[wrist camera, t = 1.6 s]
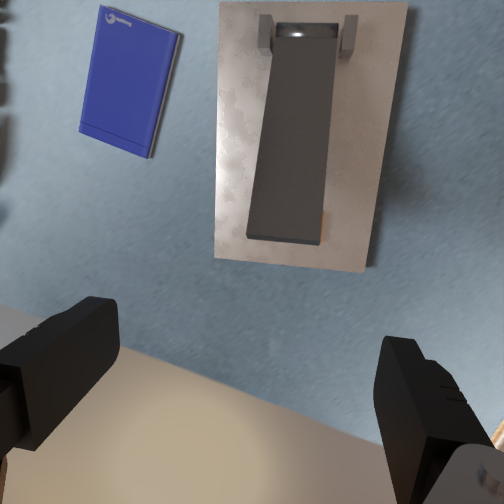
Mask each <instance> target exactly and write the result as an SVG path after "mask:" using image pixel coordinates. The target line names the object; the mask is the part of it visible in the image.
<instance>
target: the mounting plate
mask: <svg viewBox="0 0 504 504" xmlns="http://www.w3.org/2000/svg"><path fill="white" fill-rule="evenodd" d="M407 8H408V2H219V48H218V100H217V152H216V204H215V256H214V258H223V259H233V260H242V261H252V262H262V263H271V264H281V265H290V266H300V267H310V268H319V269H329V270H338V271H348V272H358V273H364V272H365V266H366V259H367V253H368V247H369V241H370V235H371V229H372V223H373V217H374V210H375V204H376V198H377V192H378V186H379V180H380V174H381V168H382V161H383V155H384V149H385V143H386V137H387V131H388V125H389V119H390V113H391V106H392V100H393V94H394V88H395V82H396V76H397V70H398V64H399V57H400V51H401V45H402V39H403V33H404V27H405V21H406V15H407ZM277 22H308V23H339V30H338V39H337V51H336V63H335V75H334V86H333V98H332V110H331V122H330V134H329V146H328V157H327V169H326V181H325V193H324V205H323V217H322V229H321V240H320V245H319V246H316V245H305V244H295V243H284V242H274V241H263V240H253V239H247V236H246V229H247V223H248V216H249V209H250V203H251V196H252V189H253V182H254V176H255V169H256V162H257V156H258V149H259V142H260V136H261V129H262V122H263V116H264V109H265V102H266V95H267V89H268V82H269V75H270V69H271V62H272V55H273V49H274V42H275V32H276V23H277Z"/></svg>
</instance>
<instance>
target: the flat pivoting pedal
mask: <svg viewBox="0 0 504 504" xmlns="http://www.w3.org/2000/svg"><path fill="white" fill-rule="evenodd" d="M338 30H339V23H308V22H277V23H276V32H275V42H274V49H273V55H272V62H271V69H270V75H269V82H268V89H267V95H266V102H265V109H264V116H263V122H262V129H261V136H260V142H259V149H258V156H257V162H256V169H255V176H254V182H253V189H252V196H251V203H250V209H249V216H248V223H247V229H246V236H247V239H253V240H263V241H274V242H284V243H295V244H305V245H316V246H319V245H320V240H321V229H322V217H323V205H324V193H325V181H326V169H327V157H328V146H329V134H330V122H331V110H332V98H333V86H334V75H335V63H336V51H337V39H338Z"/></svg>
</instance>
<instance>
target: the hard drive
mask: <svg viewBox="0 0 504 504" xmlns="http://www.w3.org/2000/svg"><path fill="white" fill-rule="evenodd" d="M179 40H180V35H179V34H177V33H175V32H172V31H170V30H167V29H164V28H162V27H159V26H156V25H154V24H151V23H148V22H146V21H143V20H141V19H138V18H135V17H133V16H130V15H127V14H125V13H122V12H119V11H117V10H114V9H111V8H109V7H106V6H103V5H101V4H100V8H99V14H98V20H97V26H96V32H95V38H94V44H93V50H92V56H91V62H90V67H89V73H88V79H87V85H86V91H85V97H84V103H83V109H82V115H81V121H80V126H79V132H80V133H82V134H85V135H87V136H90V137H92V138H95V139H97V140H100V141H103V142H105V143H108V144H110V145H113V146H115V147H118V148H120V149H123V150H125V151H128V152H130V153H133V154H135V155H138V156H140V157H143V158H146V159H149V158H150V157H151V153H152V149H153V145H154V141H155V137H156V133H157V129H158V125H159V121H160V117H161V113H162V109H163V105H164V101H165V97H166V93H167V89H168V85H169V81H170V77H171V72H172V68H173V64H174V60H175V56H176V52H177V48H178V44H179Z"/></svg>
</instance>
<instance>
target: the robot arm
mask: <svg viewBox="0 0 504 504" xmlns="http://www.w3.org/2000/svg"><path fill="white" fill-rule="evenodd" d="M119 348H120V338H119V323H118V308H117V303H116V301H115V300H114V299H108V298H101V297H93V296H88V297H86V298H85V299H83V300H82V301H80V302H79V303H77V304H76V305H74V306H73V307H71V308H70V309H68V310H66V311H64V312H61V313H59V314H56V315H53V316H51V317H49V318H48V319H46V320H45V321H43V322H42V323H40V324H39V325H37V328H33V329H31V330H30V331H29V332H27V333H26V334H25V336H21V337H19V338H18V339H16V340H15V341H13V342H12V343H10V344H9V345H7V346H6V347H4V348H3V349H1V350H0V504H2V500H3V493H4V486H5V480H6V473H7V464H8V463H7V458H6V454H7V453H8V452H9V451H10V450H11V449H12V448H13V447H16V448H21V449H25V450H30V451H35V450H36V449H37V448H38V447H39V446H40V445H41V444H42V443H43V441H44V440H45V439H46V438H47V437H48V436H49V435H50V434H51V433H52V432H53V430H54V429H55V428H56V427H57V426H58V425H59V424H60V423H61V422H62V420H63V419H64V418H65V417H66V416H67V415H68V414H69V413H70V411H72V409H73V408H74V407H75V406H76V405H77V404H78V403H79V402H80V400H81V399H82V398H83V397H84V396H85V395H86V394H87V393H88V392H89V391H90V389H91V388H92V387H93V386H94V385H95V384H96V383H97V382H98V381H99V379H100V378H101V377H102V376H103V375H104V374H105V373H106V372H107V371H108V370H109V368H110V367H111V366H112V365H113V364H114V362H115V360H116V358H117V356H118V353H119ZM373 400H374V408H375V412H376V416H377V420H378V425H379V429H380V433H381V437H382V442H383V446H384V450H385V454H386V458H387V463H388V467H389V471H390V475H391V480H392V484H393V488H394V492H395V496H396V501H397V504H504V453H503V452H502V451H500V450H497V449H496V448H495V447H494V445H493V443H492V442H491V440H490V438H489V437H488V435H487V433H486V432H485V430H484V428H483V427H482V425H481V423H480V422H479V420H478V418H477V417H476V415H475V413H474V412H473V410H472V409H471V407H470V405H469V404H467V400H466V399H465V397H464V395H463V394H462V392H460V391H459V387H458V385H457V384H456V382H455V380H454V379H453V377H452V375H451V374H450V373H449V372H448V371H447V370H445V369H444V368H443V367H442V366H441V365H440V364H438V363H437V362H436V361H434V360H427V359H425V358H424V356H423V354H422V352H421V350H420V348H419V346H418V344H417V342H416V341H415V340H414V339H408V338H401V337H393V336H385V337H384V339H383V341H382V346H381V351H380V356H379V361H378V366H377V371H376V376H375V382H374V390H373Z"/></svg>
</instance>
